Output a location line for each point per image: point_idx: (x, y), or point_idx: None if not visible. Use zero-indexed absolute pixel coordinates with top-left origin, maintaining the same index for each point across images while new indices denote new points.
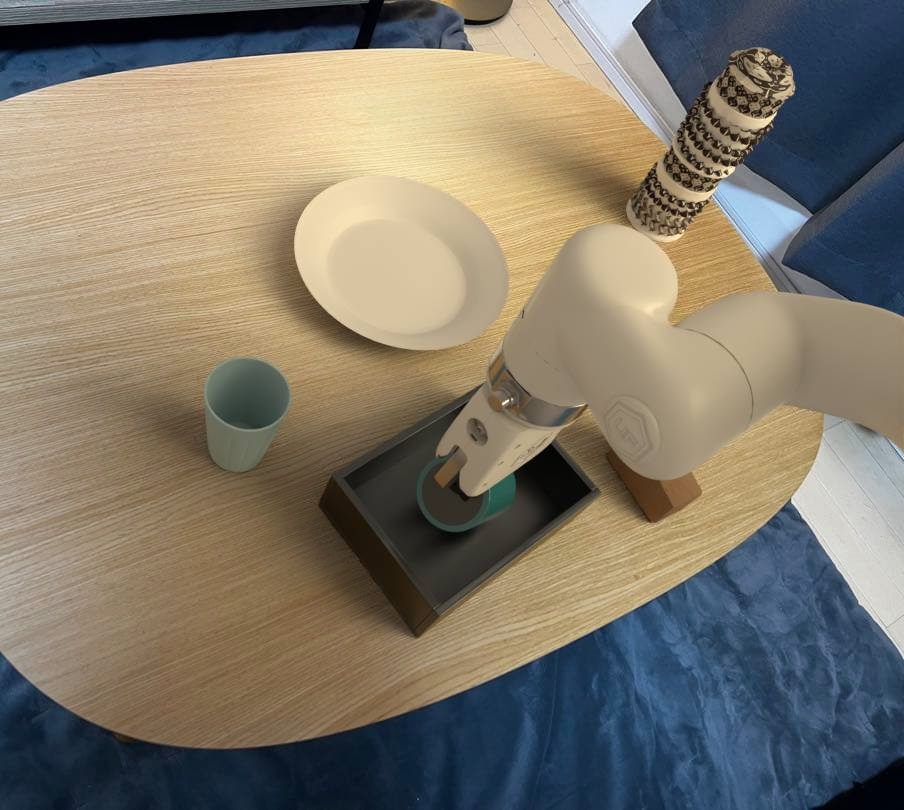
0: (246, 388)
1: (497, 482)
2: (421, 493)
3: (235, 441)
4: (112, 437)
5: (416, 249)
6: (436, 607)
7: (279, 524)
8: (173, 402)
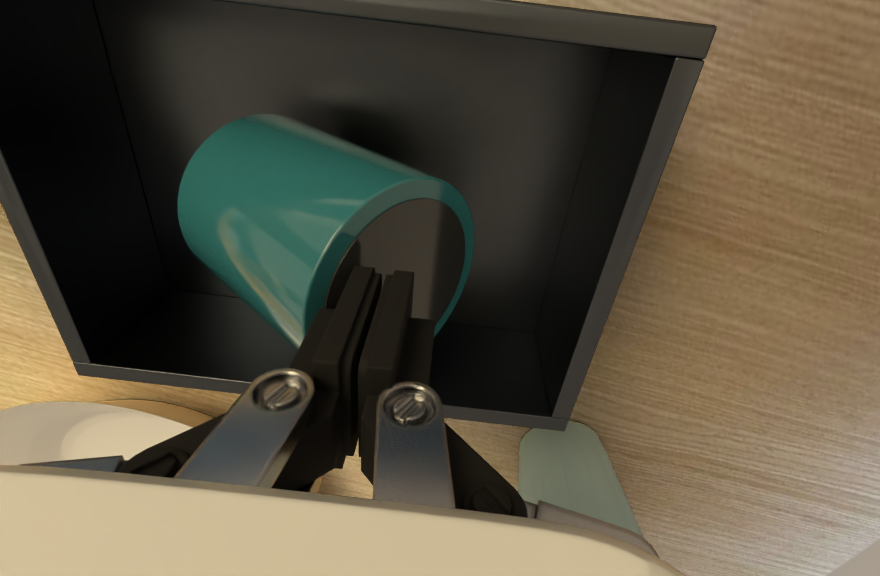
0: None
1: (439, 525)
2: (446, 308)
3: None
4: (658, 518)
5: None
6: (691, 58)
7: (614, 348)
8: None
